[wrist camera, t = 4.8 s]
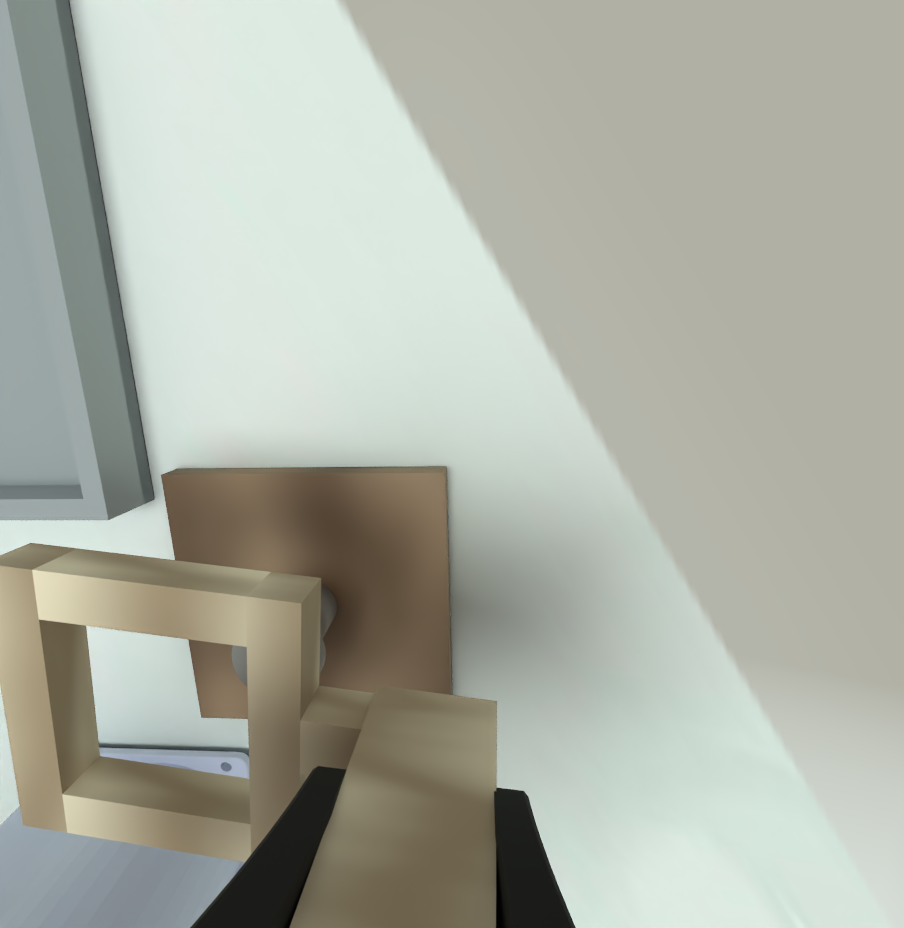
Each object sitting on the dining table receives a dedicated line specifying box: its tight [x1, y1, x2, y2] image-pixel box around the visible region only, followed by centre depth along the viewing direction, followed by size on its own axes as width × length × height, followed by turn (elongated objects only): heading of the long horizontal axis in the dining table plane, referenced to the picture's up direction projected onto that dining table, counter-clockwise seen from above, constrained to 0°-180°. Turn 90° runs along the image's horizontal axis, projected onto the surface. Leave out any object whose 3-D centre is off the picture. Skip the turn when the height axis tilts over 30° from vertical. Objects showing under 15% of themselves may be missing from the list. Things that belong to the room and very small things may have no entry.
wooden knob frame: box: [0, 543, 497, 928], centre depth 10 cm, size 12×8×6 cm, turn 85°
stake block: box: [161, 467, 452, 719], centre depth 18 cm, size 11×11×5 cm
